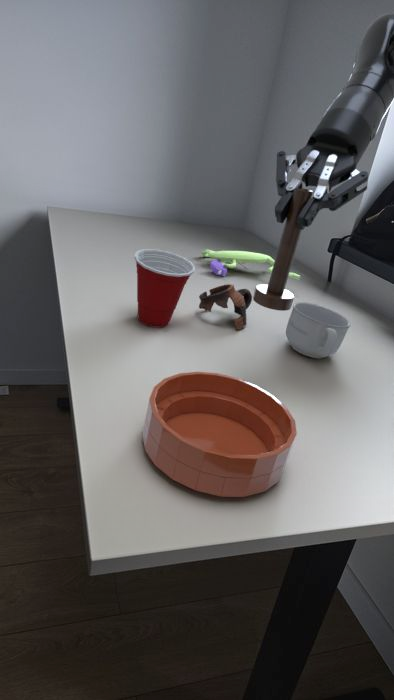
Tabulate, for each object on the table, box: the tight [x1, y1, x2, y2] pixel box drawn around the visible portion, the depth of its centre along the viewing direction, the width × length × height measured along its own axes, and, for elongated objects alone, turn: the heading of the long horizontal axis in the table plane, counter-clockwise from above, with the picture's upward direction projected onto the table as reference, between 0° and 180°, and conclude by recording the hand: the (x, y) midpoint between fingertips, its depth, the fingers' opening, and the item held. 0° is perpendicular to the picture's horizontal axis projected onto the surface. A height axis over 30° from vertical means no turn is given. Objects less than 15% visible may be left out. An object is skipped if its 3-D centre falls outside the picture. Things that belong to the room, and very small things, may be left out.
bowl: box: [141, 371, 298, 498], centre depth 59 cm, size 17×17×6 cm
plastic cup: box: [133, 248, 196, 328], centre depth 88 cm, size 11×11×12 cm
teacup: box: [285, 301, 351, 359], centre depth 91 cm, size 14×11×8 cm
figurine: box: [201, 249, 301, 281], centre depth 131 cm, size 18×27×6 cm
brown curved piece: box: [198, 283, 253, 331], centre depth 99 cm, size 12×10×8 cm
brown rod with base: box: [252, 187, 314, 312], centre depth 68 cm, size 6×6×16 cm
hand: (289, 221), depth 64 cm, fingers closed on brown rod with base, 2 cm apart
